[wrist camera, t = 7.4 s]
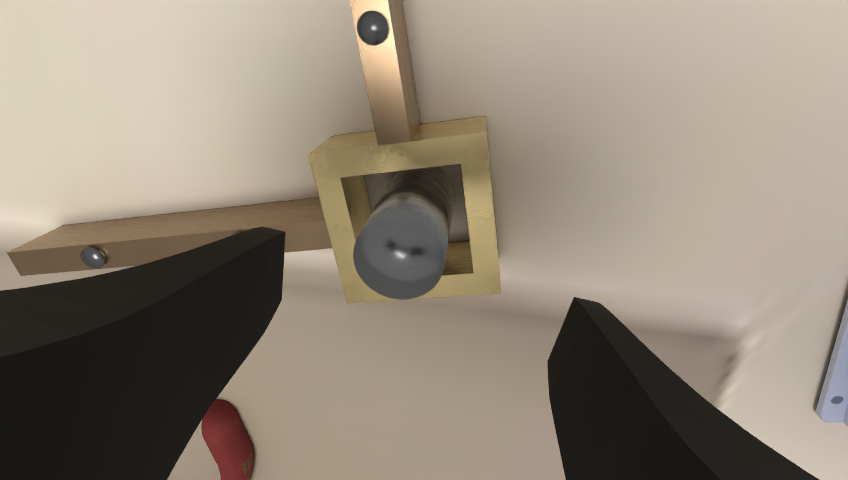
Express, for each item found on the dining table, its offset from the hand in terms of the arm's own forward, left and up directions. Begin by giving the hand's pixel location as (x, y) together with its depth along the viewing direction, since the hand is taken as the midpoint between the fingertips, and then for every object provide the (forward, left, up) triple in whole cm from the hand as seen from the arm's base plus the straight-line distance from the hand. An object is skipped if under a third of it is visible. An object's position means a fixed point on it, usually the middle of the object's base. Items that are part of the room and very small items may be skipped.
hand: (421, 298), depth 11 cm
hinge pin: (-1, +1, -9) cm, 10 cm away
